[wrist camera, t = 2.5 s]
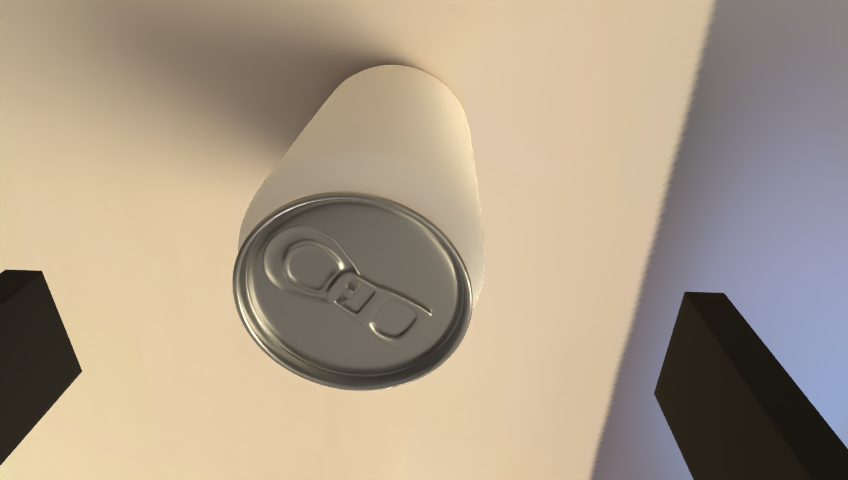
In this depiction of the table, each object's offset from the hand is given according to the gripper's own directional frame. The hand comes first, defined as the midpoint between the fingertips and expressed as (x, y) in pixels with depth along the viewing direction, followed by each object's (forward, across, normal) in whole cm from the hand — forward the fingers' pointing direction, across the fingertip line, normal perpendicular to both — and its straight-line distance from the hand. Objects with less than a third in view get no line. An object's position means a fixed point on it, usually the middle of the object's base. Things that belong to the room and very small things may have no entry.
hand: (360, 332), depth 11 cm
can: (+13, 0, 0) cm, 13 cm away
